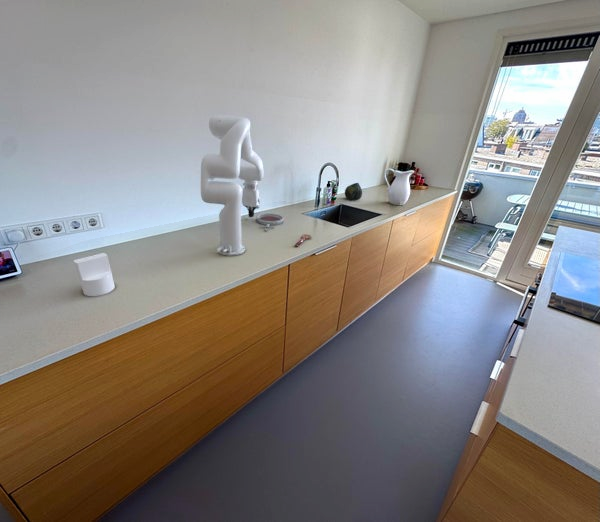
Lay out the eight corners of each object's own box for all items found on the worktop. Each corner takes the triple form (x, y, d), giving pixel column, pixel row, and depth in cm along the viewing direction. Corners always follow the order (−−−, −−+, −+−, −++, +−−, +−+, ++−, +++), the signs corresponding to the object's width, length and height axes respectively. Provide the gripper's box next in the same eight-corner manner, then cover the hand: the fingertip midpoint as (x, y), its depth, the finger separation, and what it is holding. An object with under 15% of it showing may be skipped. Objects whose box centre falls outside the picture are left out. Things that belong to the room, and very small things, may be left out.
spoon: (300, 248, 143) (300, 245, 142) (291, 246, 145) (291, 243, 144) (312, 237, 158) (312, 234, 158) (303, 235, 160) (304, 232, 159)
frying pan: (250, 226, 160) (258, 211, 185) (250, 231, 161) (258, 216, 186) (280, 229, 160) (284, 213, 185) (280, 233, 161) (284, 218, 186)
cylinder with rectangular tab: (108, 280, 105) (101, 250, 100) (119, 289, 100) (111, 258, 95) (79, 289, 98) (69, 257, 93) (89, 299, 94) (79, 266, 88)
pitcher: (409, 203, 247) (417, 170, 235) (404, 207, 234) (412, 172, 222) (382, 198, 258) (388, 166, 246) (376, 202, 245) (382, 168, 232)
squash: (338, 191, 245) (351, 180, 235) (347, 190, 256) (359, 179, 246) (347, 205, 243) (360, 194, 233) (356, 203, 254) (368, 192, 244)
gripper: (236, 185, 167) (237, 216, 175) (259, 189, 163) (259, 220, 171) (243, 183, 174) (243, 213, 182) (265, 187, 169) (264, 217, 177)
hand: (251, 216), depth 176 cm, fingers closed
